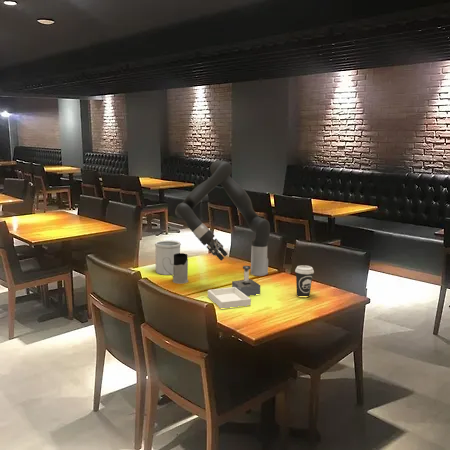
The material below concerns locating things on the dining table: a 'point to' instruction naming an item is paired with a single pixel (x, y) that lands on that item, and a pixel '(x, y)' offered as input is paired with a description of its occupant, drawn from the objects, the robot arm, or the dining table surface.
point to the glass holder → (179, 268)
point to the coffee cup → (304, 280)
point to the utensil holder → (166, 255)
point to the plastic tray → (229, 297)
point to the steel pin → (246, 274)
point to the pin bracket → (247, 287)
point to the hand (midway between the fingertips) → (224, 257)
